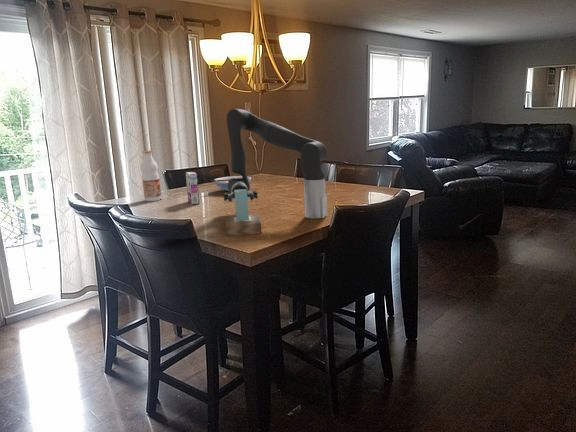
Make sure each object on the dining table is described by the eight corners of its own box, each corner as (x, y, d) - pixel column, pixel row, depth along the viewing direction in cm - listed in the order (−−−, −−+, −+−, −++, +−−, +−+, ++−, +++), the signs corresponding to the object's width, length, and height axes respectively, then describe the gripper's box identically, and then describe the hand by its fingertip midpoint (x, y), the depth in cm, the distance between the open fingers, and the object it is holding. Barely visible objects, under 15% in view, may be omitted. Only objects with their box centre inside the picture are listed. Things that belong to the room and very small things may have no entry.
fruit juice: (142, 200, 256) (136, 151, 250) (158, 197, 261) (153, 149, 255) (147, 202, 249) (141, 152, 242) (164, 200, 254) (158, 150, 247)
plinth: (258, 221, 195) (257, 212, 194) (261, 233, 178) (261, 222, 177) (226, 224, 194) (225, 215, 193) (226, 235, 176) (225, 225, 175)
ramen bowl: (255, 186, 282) (255, 174, 280) (251, 193, 260) (250, 180, 258) (216, 188, 283) (215, 175, 281) (209, 195, 261) (208, 181, 259)
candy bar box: (200, 204, 238) (197, 173, 234) (191, 205, 236) (188, 174, 232) (196, 200, 248) (194, 171, 244) (187, 201, 246) (184, 172, 243)
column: (248, 216, 188) (246, 189, 185) (248, 219, 183) (246, 191, 180) (236, 217, 187) (234, 189, 184) (236, 220, 182) (234, 192, 179)
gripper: (223, 184, 197) (223, 191, 181) (255, 182, 199) (257, 188, 183) (224, 201, 199) (224, 208, 183) (256, 198, 201) (259, 206, 185)
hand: (241, 198), depth 183 cm, fingers open, 8 cm apart
